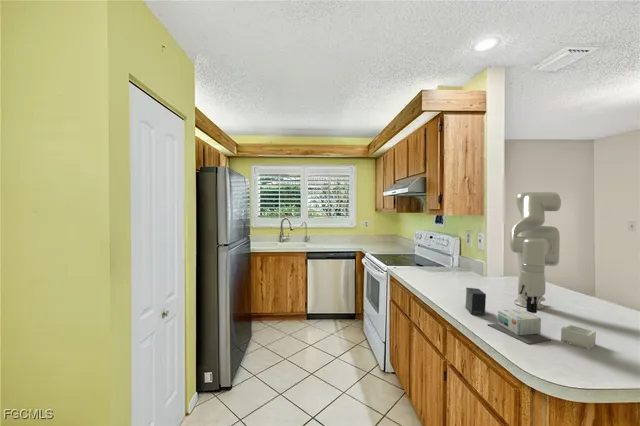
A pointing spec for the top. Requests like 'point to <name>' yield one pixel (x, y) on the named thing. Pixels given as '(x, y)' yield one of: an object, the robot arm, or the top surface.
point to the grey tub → (578, 336)
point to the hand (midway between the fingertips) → (531, 312)
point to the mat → (524, 338)
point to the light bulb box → (519, 321)
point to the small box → (475, 301)
